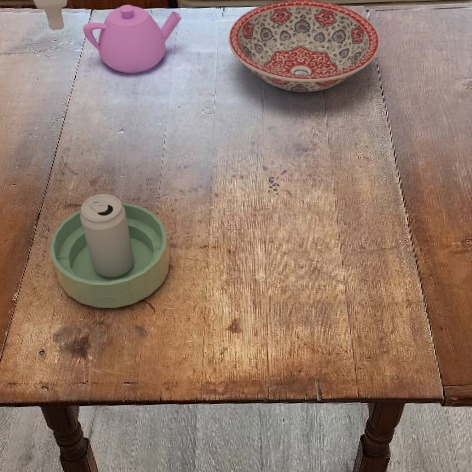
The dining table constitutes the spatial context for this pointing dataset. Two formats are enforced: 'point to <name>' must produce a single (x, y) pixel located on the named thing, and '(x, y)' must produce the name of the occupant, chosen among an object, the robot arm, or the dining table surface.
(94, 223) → the beverage can
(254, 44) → the ceramic bowl
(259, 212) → the dining table surface
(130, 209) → the green bowl
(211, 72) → the dining table surface
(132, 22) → the teapot
